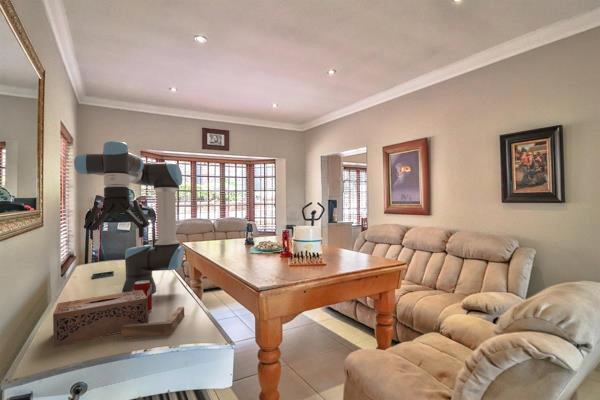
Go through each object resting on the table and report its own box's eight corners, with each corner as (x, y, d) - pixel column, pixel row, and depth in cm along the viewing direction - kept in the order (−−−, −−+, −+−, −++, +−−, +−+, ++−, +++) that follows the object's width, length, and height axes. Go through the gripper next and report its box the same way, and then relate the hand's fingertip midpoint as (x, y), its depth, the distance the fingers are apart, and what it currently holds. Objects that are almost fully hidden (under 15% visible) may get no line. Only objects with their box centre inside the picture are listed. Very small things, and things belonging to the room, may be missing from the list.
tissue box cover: (53, 347, 93) (53, 314, 93) (58, 332, 105) (57, 303, 105) (148, 327, 107) (147, 298, 107) (142, 315, 119) (142, 289, 119)
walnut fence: (142, 319, 114) (142, 309, 114) (184, 316, 116) (184, 306, 116) (121, 338, 97) (121, 327, 97) (171, 334, 99) (171, 323, 99)
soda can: (144, 315, 119) (143, 284, 119) (129, 314, 120) (128, 283, 120) (155, 309, 125) (155, 279, 126) (141, 309, 127) (140, 279, 127)
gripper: (70, 186, 101) (71, 251, 101) (151, 185, 105) (152, 247, 104) (83, 188, 109) (84, 248, 108) (158, 186, 112) (159, 245, 112)
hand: (117, 248), depth 106 cm, fingers open, 13 cm apart
